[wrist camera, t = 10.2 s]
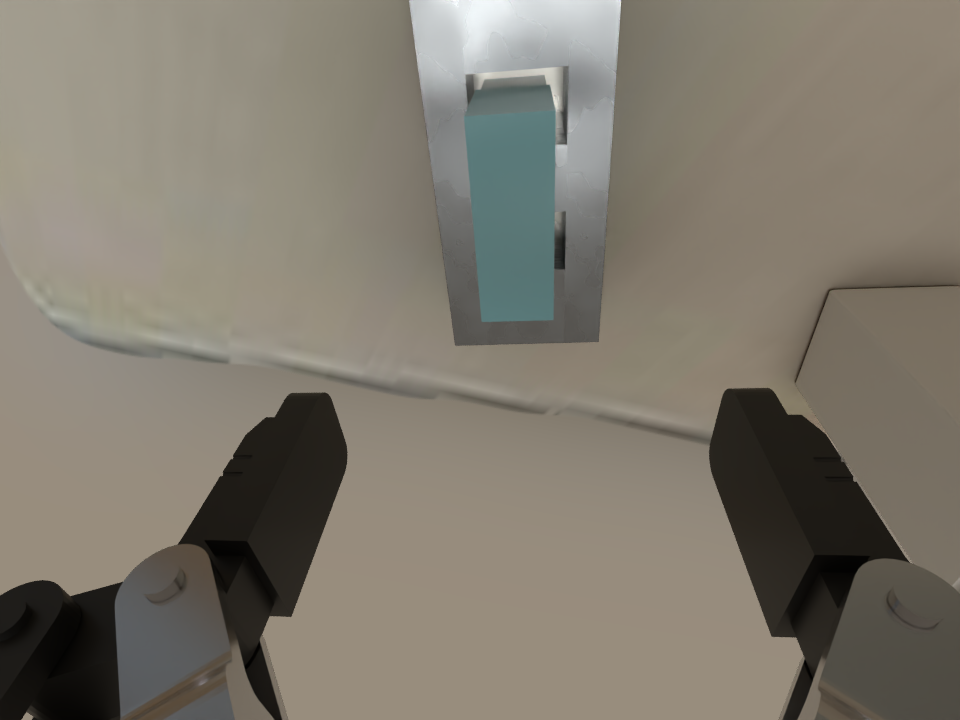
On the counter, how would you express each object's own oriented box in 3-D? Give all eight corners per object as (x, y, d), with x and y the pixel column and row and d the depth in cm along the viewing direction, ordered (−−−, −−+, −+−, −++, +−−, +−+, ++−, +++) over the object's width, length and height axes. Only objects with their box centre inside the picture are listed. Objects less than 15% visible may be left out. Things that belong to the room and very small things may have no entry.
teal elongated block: (482, 74, 24) (463, 116, 17) (546, 69, 24) (555, 110, 17) (492, 235, 29) (481, 322, 22) (546, 233, 29) (553, 320, 21)
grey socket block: (419, -57, 22) (400, -62, 19) (611, -78, 21) (626, -87, 18) (462, 309, 32) (455, 345, 29) (591, 304, 32) (598, 341, 28)
